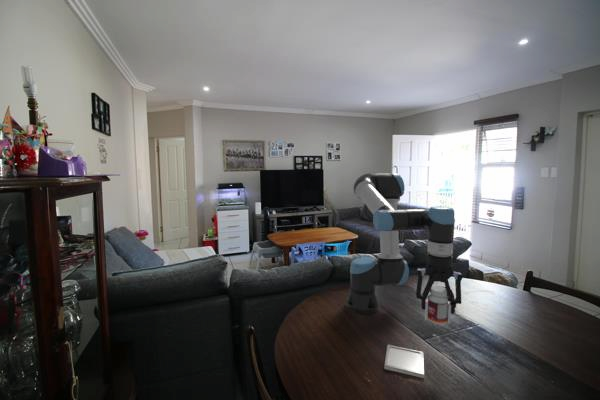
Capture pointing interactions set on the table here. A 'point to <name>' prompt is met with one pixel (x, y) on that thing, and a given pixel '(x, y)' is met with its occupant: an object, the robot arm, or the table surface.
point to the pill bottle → (438, 305)
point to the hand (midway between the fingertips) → (436, 319)
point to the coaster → (404, 361)
